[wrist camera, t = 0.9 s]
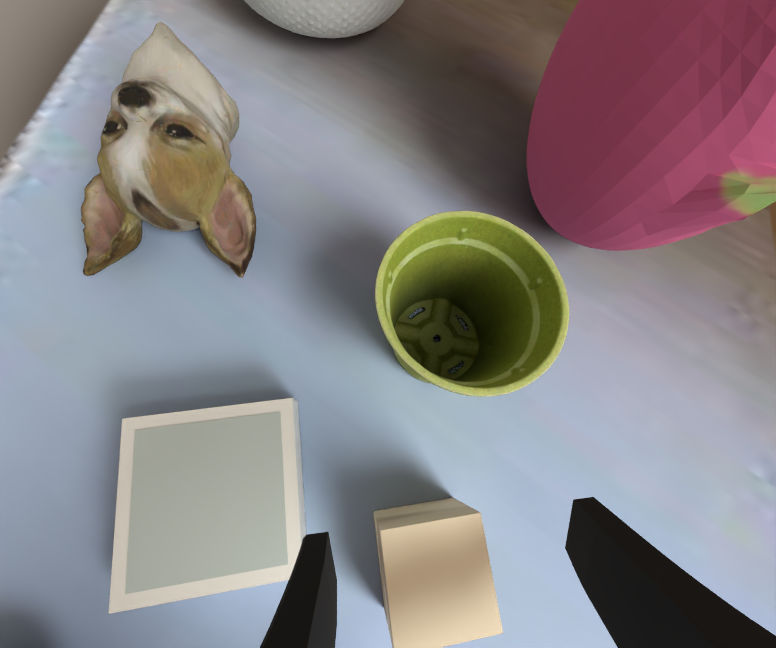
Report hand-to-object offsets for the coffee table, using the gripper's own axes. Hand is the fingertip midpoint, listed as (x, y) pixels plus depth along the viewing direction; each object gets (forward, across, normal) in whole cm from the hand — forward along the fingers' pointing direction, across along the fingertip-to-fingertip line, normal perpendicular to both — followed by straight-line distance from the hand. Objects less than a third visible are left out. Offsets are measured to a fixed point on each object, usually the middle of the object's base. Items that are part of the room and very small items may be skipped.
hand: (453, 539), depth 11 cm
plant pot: (+16, -3, +1) cm, 16 cm away
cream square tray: (+10, +11, +6) cm, 16 cm away
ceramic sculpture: (+23, +14, -9) cm, 28 cm away
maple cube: (+8, 0, +11) cm, 13 cm away
